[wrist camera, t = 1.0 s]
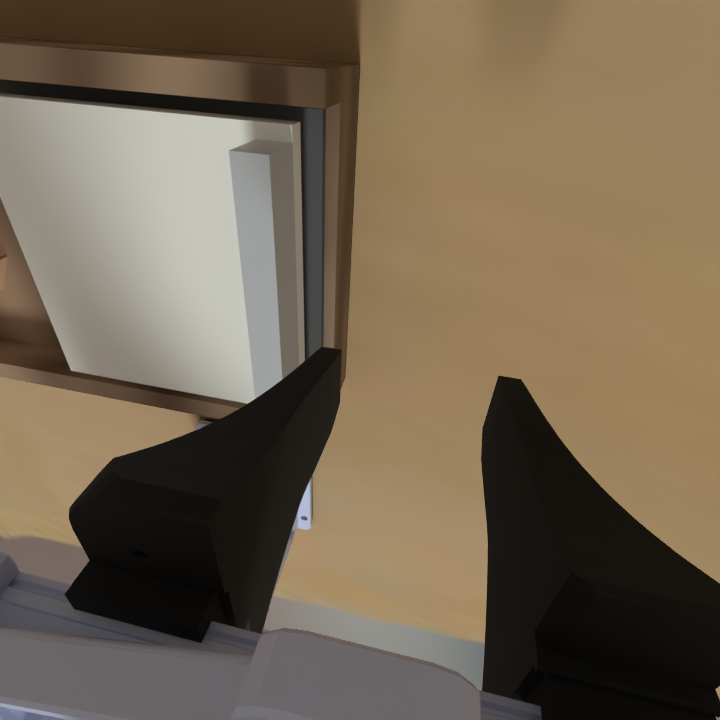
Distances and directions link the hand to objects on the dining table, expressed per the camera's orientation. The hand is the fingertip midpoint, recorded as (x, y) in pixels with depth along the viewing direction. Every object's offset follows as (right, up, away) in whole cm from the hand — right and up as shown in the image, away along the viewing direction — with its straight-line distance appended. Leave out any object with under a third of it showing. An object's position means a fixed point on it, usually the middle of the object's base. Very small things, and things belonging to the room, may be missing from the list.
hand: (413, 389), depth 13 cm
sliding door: (-10, +5, +6) cm, 12 cm away
